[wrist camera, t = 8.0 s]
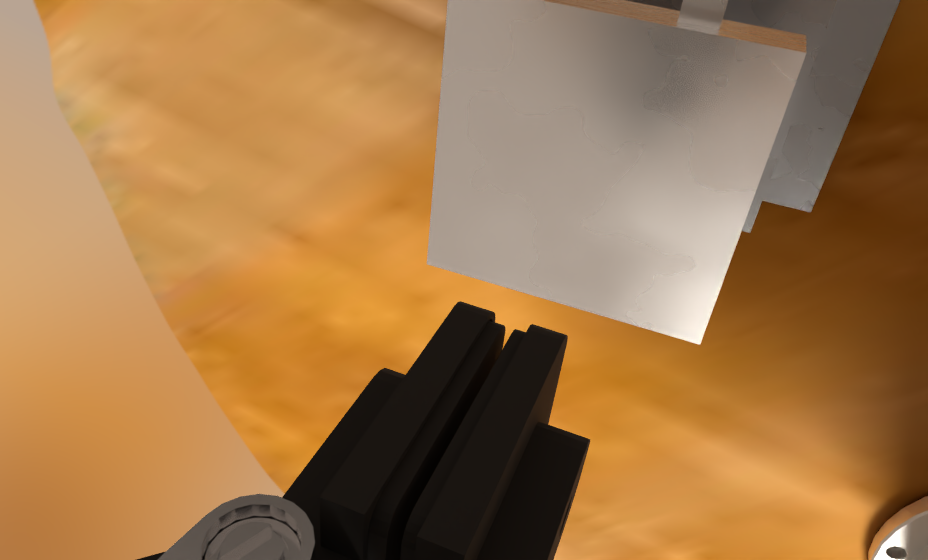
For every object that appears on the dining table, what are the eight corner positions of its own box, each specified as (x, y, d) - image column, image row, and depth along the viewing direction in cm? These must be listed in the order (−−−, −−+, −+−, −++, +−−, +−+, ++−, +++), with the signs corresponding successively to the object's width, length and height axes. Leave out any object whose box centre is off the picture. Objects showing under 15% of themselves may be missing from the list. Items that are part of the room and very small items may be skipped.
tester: (953, -143, 23) (1021, -107, 16) (810, 201, 30) (813, 331, 23) (516, -202, 26) (411, -193, 19) (479, 120, 33) (392, 213, 26)
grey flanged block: (838, -141, 19) (859, -92, 12) (729, 181, 25) (699, 344, 18) (576, -177, 21) (459, -154, 14) (528, 132, 27) (427, 264, 19)
